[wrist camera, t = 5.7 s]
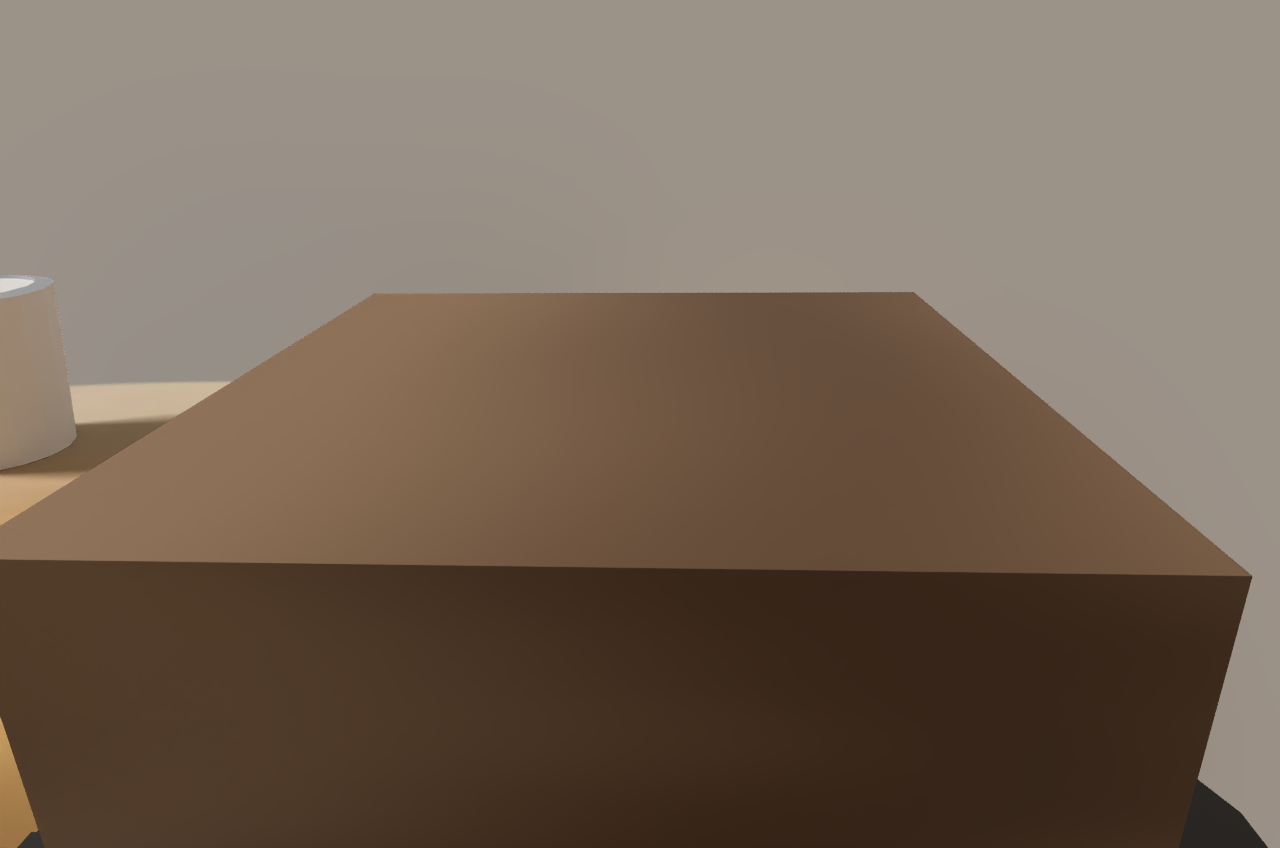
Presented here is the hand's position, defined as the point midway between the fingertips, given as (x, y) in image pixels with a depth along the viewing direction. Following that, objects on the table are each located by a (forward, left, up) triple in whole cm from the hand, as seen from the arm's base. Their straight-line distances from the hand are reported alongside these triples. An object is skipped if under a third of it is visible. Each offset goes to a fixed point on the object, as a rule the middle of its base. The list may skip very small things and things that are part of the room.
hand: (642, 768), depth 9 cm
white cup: (-39, -2, -7) cm, 39 cm away
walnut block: (+1, -1, -7) cm, 7 cm away
